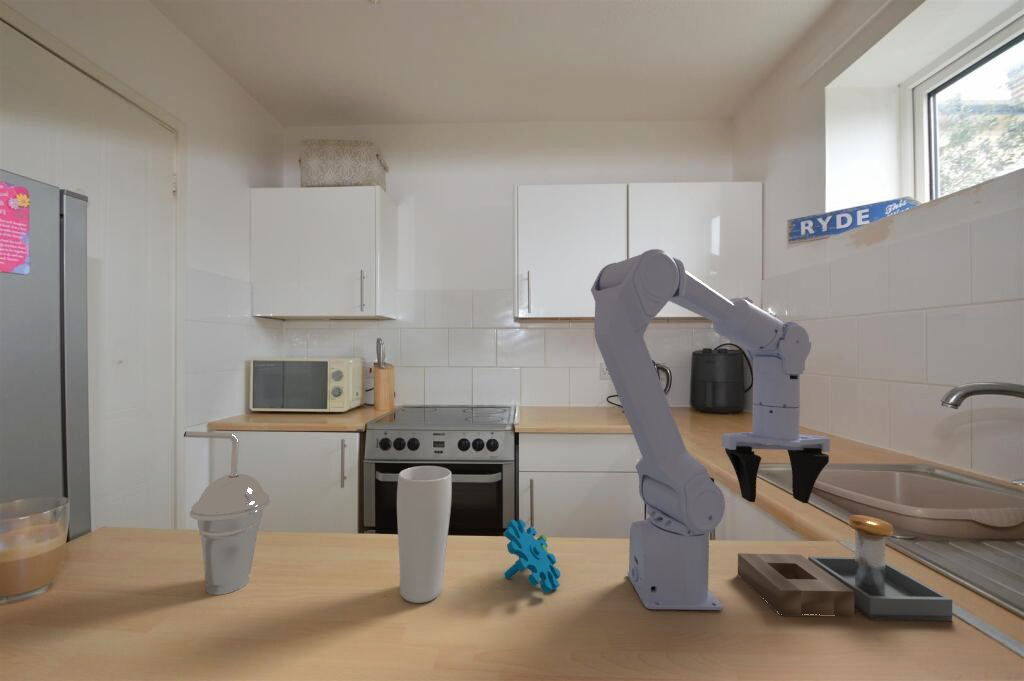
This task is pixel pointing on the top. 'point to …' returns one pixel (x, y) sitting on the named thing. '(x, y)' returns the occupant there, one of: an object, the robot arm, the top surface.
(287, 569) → the top surface
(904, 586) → the tray
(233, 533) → the cup with straw
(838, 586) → the holder block
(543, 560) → the gear
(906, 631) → the top surface
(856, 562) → the pin
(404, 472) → the drinking glass
